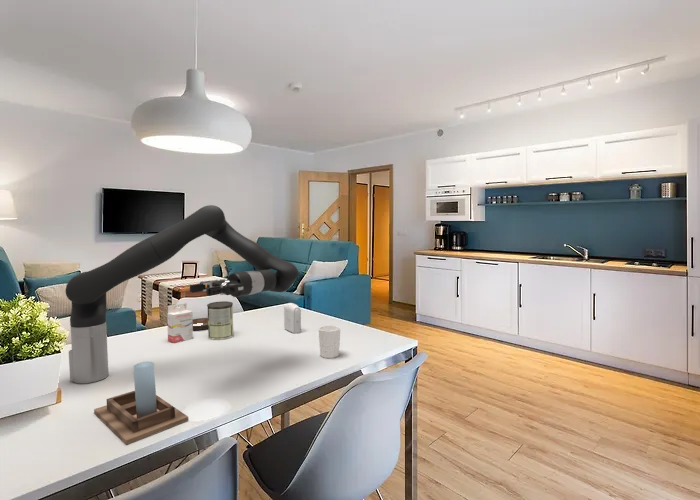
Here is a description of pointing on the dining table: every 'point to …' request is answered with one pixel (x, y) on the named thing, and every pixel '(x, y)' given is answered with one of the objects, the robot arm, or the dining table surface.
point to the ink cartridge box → (179, 323)
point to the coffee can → (220, 320)
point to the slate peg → (145, 389)
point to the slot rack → (131, 429)
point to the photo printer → (292, 318)
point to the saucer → (200, 320)
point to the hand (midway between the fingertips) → (198, 290)
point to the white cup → (329, 341)
